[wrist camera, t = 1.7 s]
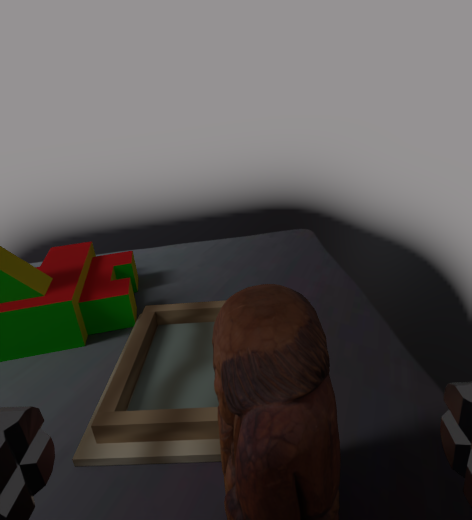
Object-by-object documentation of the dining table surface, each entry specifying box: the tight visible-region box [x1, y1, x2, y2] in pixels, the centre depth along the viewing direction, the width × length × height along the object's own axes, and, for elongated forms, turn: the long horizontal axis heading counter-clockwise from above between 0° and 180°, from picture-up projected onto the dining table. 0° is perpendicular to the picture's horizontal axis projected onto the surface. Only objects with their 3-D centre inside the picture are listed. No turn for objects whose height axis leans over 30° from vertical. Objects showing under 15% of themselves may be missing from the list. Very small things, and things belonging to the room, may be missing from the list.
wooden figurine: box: [212, 284, 341, 520], centre depth 24 cm, size 12×6×18 cm, turn 1°
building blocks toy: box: [0, 242, 138, 362], centre depth 54 cm, size 19×25×18 cm
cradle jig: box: [72, 301, 226, 466], centre depth 43 cm, size 16×22×3 cm
